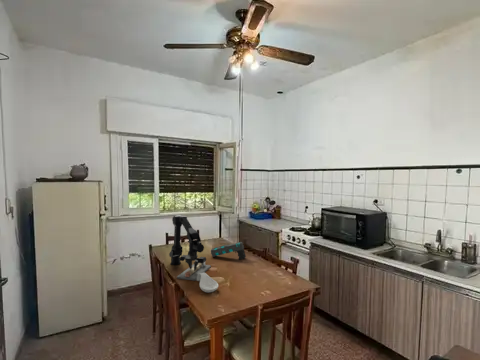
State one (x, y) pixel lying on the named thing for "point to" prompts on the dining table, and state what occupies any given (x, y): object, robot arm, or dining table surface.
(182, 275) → the board
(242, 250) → the gun
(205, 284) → the spoon rest
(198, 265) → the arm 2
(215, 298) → the dining table surface
